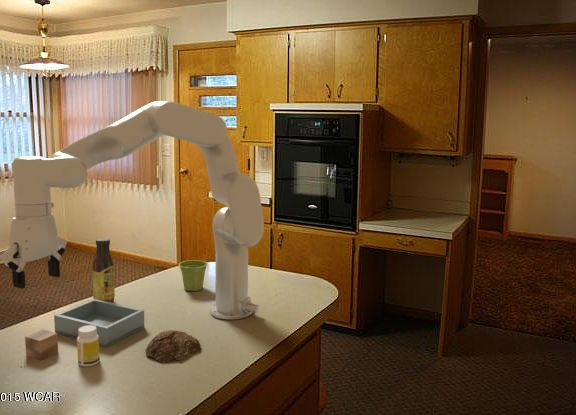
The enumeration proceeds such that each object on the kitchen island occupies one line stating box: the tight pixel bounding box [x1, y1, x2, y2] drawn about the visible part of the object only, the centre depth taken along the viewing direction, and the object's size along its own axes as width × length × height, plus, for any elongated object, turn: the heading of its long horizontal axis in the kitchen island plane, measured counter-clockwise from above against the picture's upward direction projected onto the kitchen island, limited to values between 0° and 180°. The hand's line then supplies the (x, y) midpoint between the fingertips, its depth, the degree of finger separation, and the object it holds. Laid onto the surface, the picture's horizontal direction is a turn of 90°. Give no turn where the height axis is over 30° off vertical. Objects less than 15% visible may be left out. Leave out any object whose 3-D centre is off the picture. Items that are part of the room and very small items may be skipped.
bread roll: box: [145, 329, 202, 363], centre depth 131 cm, size 13×12×5 cm
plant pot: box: [178, 259, 208, 292], centre depth 177 cm, size 9×9×9 cm
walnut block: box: [24, 328, 59, 361], centre depth 128 cm, size 5×5×5 cm
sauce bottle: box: [92, 237, 116, 303], centre depth 161 cm, size 7×6×20 cm
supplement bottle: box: [76, 325, 101, 367], centre depth 124 cm, size 5×5×8 cm
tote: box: [53, 298, 145, 348], centre depth 142 cm, size 18×14×5 cm
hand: (37, 281), depth 125 cm, fingers open, 9 cm apart
